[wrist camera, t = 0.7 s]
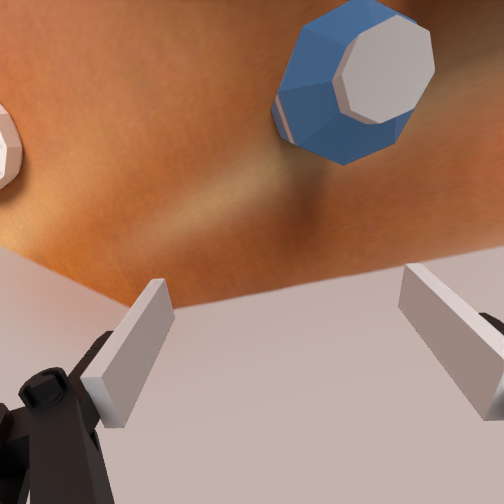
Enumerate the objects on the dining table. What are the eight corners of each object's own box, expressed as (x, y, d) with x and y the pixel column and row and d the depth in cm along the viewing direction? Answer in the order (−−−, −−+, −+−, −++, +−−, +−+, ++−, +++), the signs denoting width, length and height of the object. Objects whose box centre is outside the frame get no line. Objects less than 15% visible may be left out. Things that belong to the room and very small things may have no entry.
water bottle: (303, 162, 38) (366, 214, 15) (255, 110, 35) (242, 77, 13) (358, 107, 35) (540, 67, 12) (310, 46, 32) (422, -150, 10)
